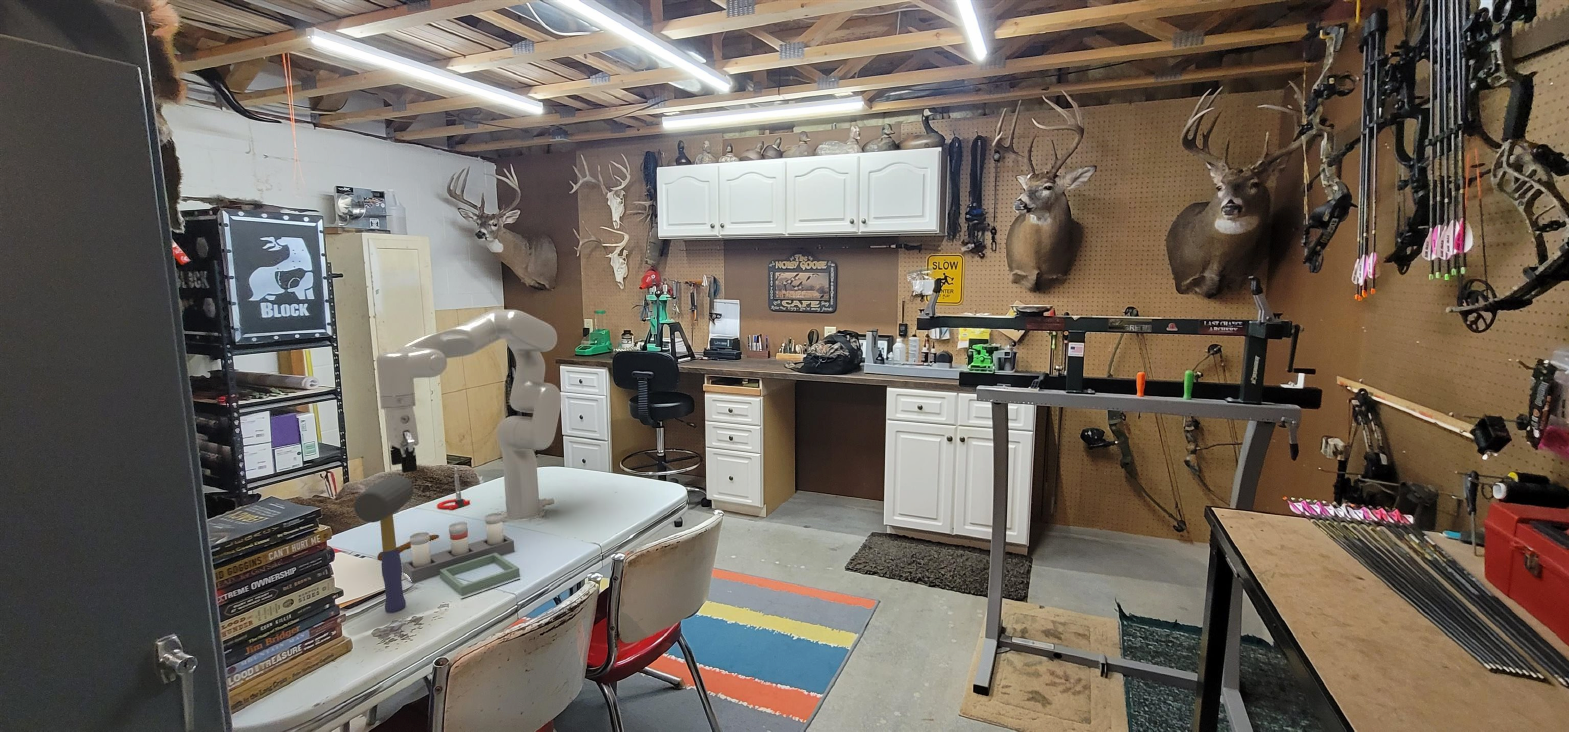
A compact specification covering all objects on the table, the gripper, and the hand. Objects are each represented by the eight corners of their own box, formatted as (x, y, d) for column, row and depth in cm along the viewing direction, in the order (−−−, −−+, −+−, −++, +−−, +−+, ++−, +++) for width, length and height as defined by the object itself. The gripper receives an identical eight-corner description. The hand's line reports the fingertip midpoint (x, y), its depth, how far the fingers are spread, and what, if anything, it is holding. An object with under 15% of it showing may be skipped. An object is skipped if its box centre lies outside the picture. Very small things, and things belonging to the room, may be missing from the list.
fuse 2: (500, 547, 177) (498, 511, 176) (507, 551, 174) (505, 515, 173) (485, 551, 174) (482, 515, 173) (491, 556, 171) (488, 519, 170)
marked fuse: (466, 557, 171) (463, 520, 169) (472, 562, 168) (469, 524, 166) (449, 562, 168) (446, 525, 166) (455, 567, 165) (452, 529, 163)
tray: (496, 563, 169) (495, 552, 169) (520, 579, 160) (519, 567, 159) (440, 581, 159) (439, 569, 159) (462, 599, 150) (461, 587, 150)
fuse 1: (429, 568, 164) (425, 530, 163) (435, 573, 161) (431, 535, 160) (410, 574, 161) (407, 535, 160) (416, 579, 158) (412, 540, 157)
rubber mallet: (392, 599, 150) (380, 473, 146) (426, 597, 151) (415, 472, 147) (362, 628, 138) (348, 491, 134) (399, 626, 139) (386, 489, 135)
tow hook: (431, 508, 213) (449, 511, 208) (427, 469, 212) (444, 472, 207) (455, 500, 220) (473, 503, 216) (451, 463, 219) (469, 465, 214)
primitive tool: (424, 536, 189) (423, 524, 189) (441, 537, 188) (440, 525, 188) (375, 565, 170) (374, 552, 170) (394, 566, 170) (393, 553, 169)
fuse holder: (503, 547, 179) (502, 533, 178) (514, 554, 174) (513, 540, 174) (403, 578, 161) (402, 562, 161) (412, 587, 157) (411, 571, 156)
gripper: (425, 403, 160) (430, 471, 162) (405, 395, 172) (410, 458, 174) (390, 408, 154) (396, 478, 157) (372, 399, 167) (378, 464, 169)
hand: (404, 467), depth 166 cm, fingers open, 9 cm apart
